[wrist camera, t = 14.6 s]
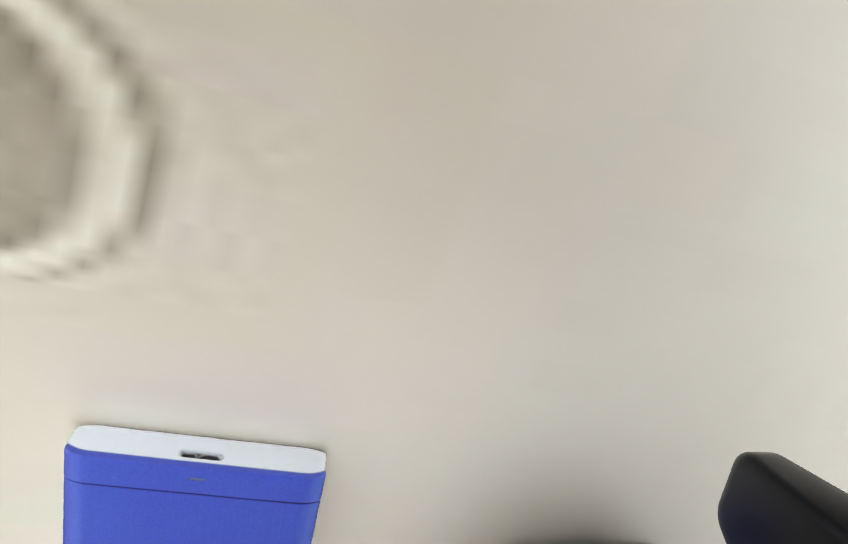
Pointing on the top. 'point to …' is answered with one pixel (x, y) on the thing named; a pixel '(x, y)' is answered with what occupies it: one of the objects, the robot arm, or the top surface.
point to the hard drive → (187, 489)
